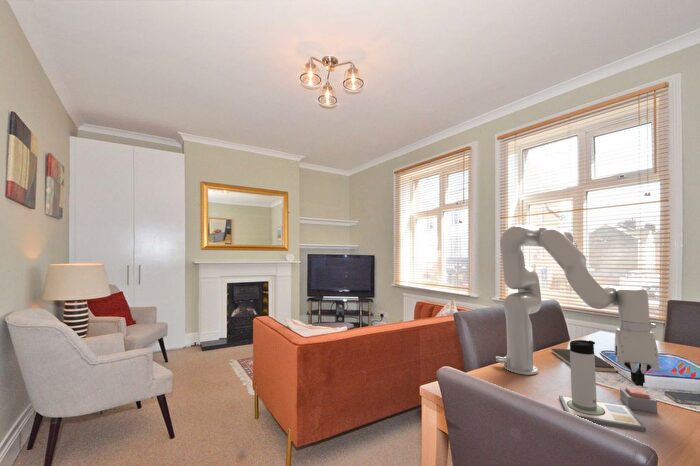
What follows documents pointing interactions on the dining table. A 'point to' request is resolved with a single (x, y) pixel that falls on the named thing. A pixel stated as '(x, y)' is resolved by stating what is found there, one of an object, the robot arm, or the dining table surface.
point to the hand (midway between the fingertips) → (638, 384)
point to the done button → (637, 393)
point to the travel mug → (583, 375)
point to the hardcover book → (599, 363)
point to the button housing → (638, 402)
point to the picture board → (606, 414)
